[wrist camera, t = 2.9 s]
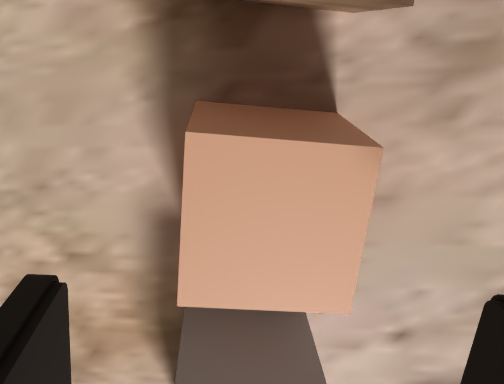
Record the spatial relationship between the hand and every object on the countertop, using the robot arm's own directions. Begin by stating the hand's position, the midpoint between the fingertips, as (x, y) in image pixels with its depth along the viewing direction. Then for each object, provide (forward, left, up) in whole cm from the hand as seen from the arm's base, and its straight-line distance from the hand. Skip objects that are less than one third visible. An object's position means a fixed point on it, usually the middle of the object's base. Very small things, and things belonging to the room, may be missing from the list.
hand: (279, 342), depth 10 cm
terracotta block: (0, 0, -11) cm, 11 cm away
